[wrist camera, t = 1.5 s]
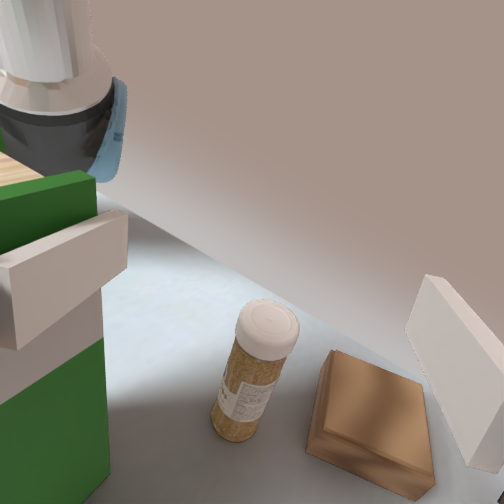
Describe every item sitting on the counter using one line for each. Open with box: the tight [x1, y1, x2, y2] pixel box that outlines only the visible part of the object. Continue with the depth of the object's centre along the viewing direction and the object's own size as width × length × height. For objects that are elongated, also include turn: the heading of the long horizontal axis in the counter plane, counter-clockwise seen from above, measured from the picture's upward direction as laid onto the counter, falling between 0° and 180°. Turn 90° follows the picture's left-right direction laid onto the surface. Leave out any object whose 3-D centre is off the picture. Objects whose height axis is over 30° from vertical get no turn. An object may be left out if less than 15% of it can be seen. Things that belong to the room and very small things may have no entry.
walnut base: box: [306, 350, 435, 502], centre depth 34 cm, size 10×10×4 cm
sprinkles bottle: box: [211, 300, 299, 442], centre depth 29 cm, size 5×5×13 cm
